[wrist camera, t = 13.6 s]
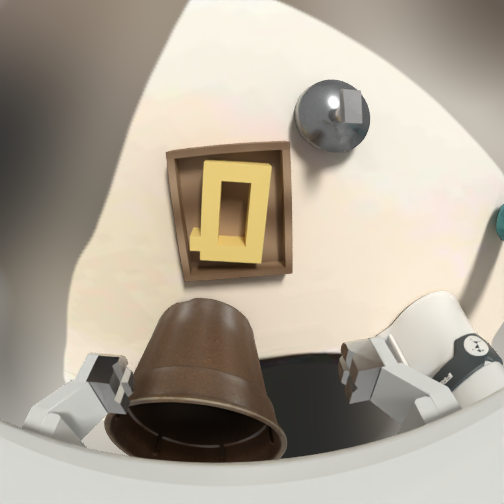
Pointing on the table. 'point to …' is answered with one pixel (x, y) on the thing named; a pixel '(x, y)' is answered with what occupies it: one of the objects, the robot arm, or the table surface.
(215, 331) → the plant pot
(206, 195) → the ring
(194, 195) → the tray
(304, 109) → the silver knob
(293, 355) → the table surface
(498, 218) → the beverage bottle
